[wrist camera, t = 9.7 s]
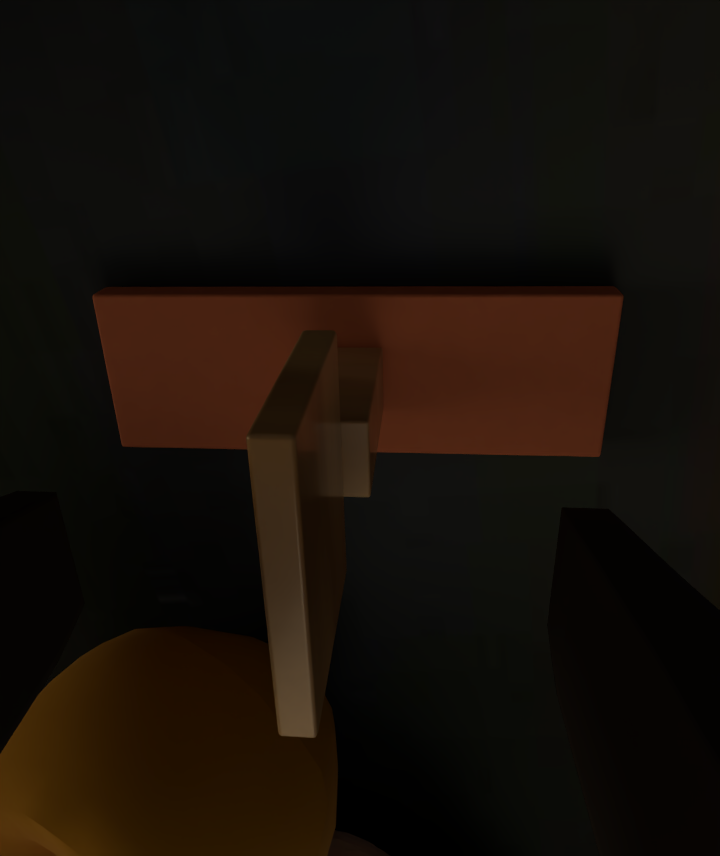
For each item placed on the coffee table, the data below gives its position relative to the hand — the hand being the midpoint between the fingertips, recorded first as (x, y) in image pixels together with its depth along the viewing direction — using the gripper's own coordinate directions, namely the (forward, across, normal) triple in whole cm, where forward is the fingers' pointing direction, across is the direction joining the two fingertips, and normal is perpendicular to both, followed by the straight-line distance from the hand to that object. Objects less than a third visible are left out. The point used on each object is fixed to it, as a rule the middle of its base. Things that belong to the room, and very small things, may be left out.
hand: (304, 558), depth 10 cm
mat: (+8, 0, 0) cm, 8 cm away
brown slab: (+7, 0, 0) cm, 7 cm away
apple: (+8, +3, +11) cm, 14 cm away
